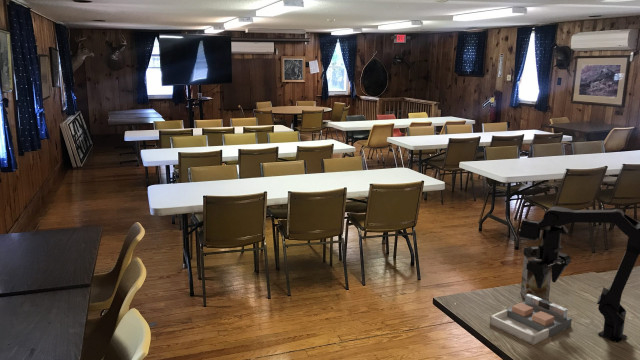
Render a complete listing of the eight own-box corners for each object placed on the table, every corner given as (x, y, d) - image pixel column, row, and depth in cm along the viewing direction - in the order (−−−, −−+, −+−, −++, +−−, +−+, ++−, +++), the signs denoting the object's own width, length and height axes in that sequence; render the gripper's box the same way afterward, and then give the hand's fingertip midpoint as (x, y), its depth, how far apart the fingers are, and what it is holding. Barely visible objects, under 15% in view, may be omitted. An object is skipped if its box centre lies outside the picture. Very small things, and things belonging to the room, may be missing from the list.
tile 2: (540, 316, 175) (540, 311, 174) (553, 322, 171) (554, 316, 170) (531, 320, 172) (532, 314, 172) (545, 326, 168) (545, 320, 168)
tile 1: (520, 307, 181) (520, 302, 181) (532, 312, 177) (533, 307, 177) (511, 311, 179) (512, 306, 178) (524, 316, 175) (524, 311, 174)
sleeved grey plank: (528, 302, 186) (529, 293, 185) (566, 318, 173) (567, 308, 173) (524, 303, 184) (525, 295, 184) (562, 320, 172) (563, 310, 171)
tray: (505, 317, 181) (505, 309, 180) (548, 337, 167) (549, 329, 166) (489, 323, 176) (490, 315, 175) (532, 345, 162) (533, 336, 162)
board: (527, 307, 188) (528, 300, 187) (571, 326, 174) (571, 318, 173) (505, 317, 181) (506, 309, 180) (548, 337, 167) (549, 328, 166)
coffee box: (525, 299, 195) (528, 260, 191) (520, 292, 201) (523, 254, 197) (549, 300, 194) (553, 261, 190) (543, 293, 200) (547, 255, 197)
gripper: (544, 232, 185) (540, 271, 188) (514, 241, 174) (510, 283, 177) (574, 240, 176) (569, 281, 179) (544, 251, 165) (539, 295, 169)
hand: (546, 285), depth 176 cm, fingers open, 9 cm apart
